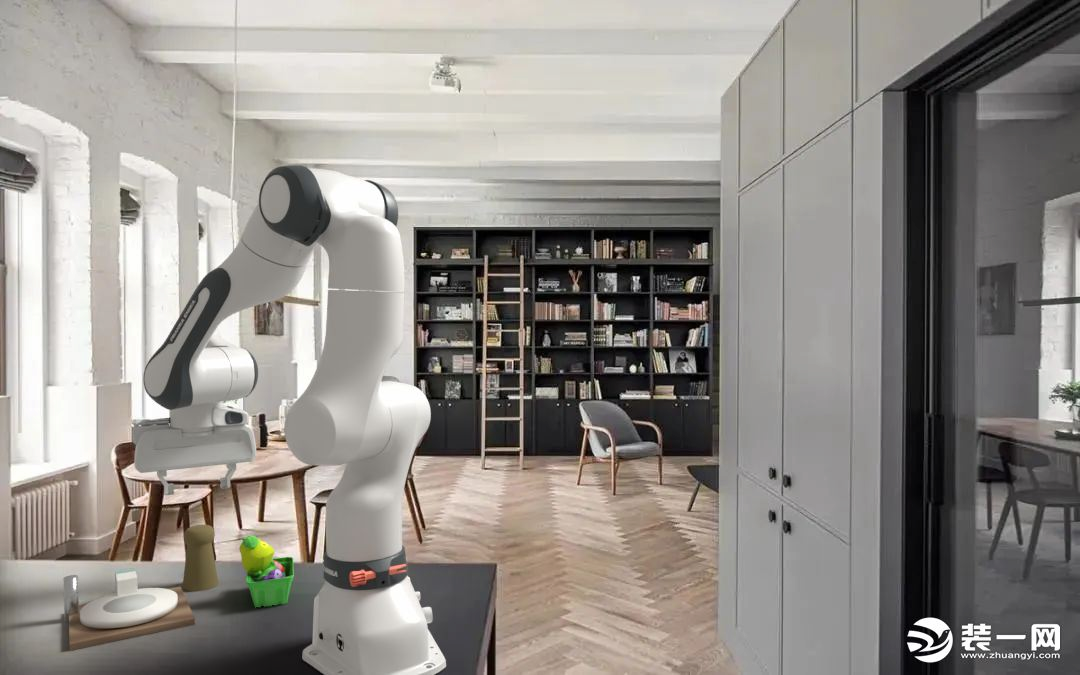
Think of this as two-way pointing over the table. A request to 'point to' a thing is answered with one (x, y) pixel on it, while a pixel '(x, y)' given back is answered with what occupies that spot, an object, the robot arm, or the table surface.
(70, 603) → the dowel
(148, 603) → the white oval plate
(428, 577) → the table surface
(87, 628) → the wooden board
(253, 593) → the fruit basket
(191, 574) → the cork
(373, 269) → the robot arm
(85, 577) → the table surface
